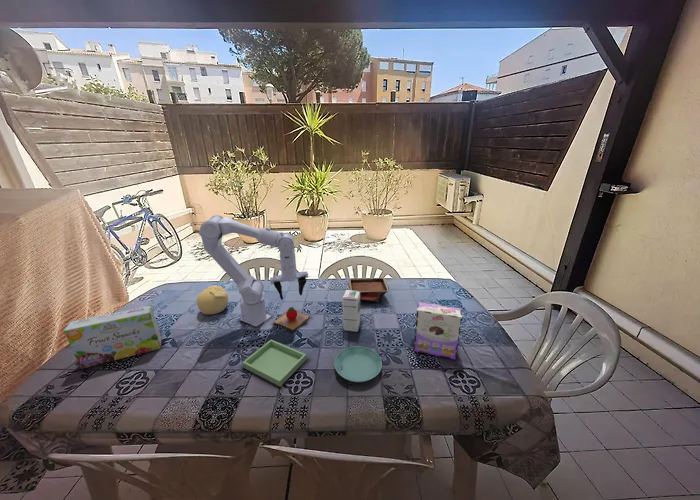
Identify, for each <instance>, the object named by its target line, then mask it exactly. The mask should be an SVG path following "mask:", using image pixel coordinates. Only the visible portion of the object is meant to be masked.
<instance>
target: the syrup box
mask: <svg viewBox="0 0 700 500" xmlns="http://www.w3.org/2000/svg"><path fill="white" fill-rule="evenodd" d="M341 300H342V301H341V302H342V327H343V328H342V329H343V331H348V332H356V333H357V332H359V329H360V326H361V301H360V291H355V290H350V289H345V292H344V293H343V295H342V299H341Z"/></svg>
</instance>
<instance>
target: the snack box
mask: <svg viewBox="0 0 700 500" xmlns="http://www.w3.org/2000/svg"><path fill="white" fill-rule="evenodd" d="M63 333H64V335H65V338H66V339H67V342H68V344H69V346H70V348H71V350H72V353H73V355H74V358H75V360H76V362H77V364H78V366H79V369H80V370H83V369H86V368H90V367H95V366H98V365H103V364H107V363H111V362H114V361H118V360H121V359H126V358H130V357H133V356H137V355H143V354H144V353H149V352H152V351H157V350H160V349H161V348H162V342H163V339H162V336H161V332H160V329H159V325H158V322H157V319H156V315H155V312H154V309H153V306H152V305H146V306H141V307H137V308H132V309H126V310H121V311H116V312H112V313H106V314H102V315H97V316H92V317H87V318H81V319H78V320H72V321H69V322H68V323H67V325H66V326H65V328H64V329H63Z"/></svg>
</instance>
